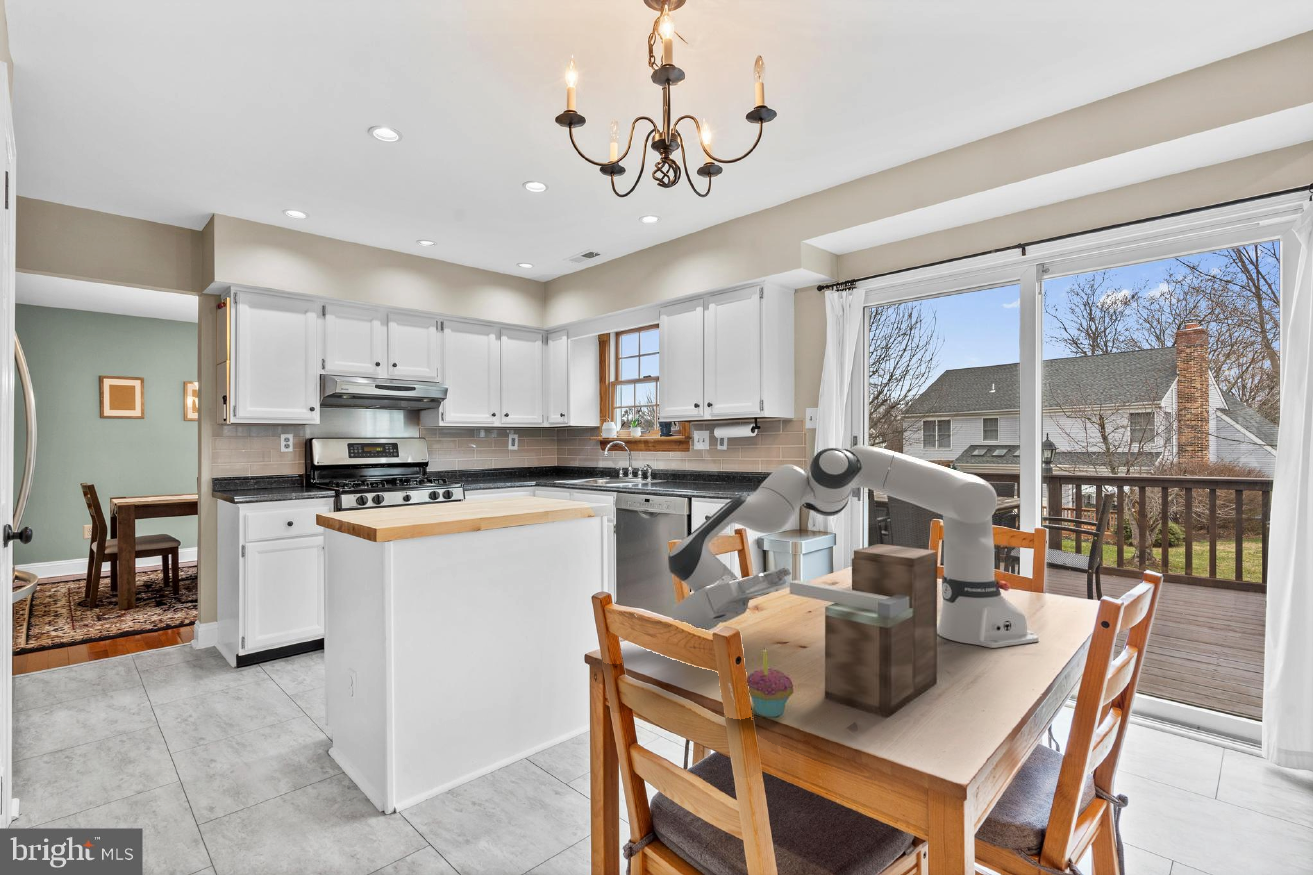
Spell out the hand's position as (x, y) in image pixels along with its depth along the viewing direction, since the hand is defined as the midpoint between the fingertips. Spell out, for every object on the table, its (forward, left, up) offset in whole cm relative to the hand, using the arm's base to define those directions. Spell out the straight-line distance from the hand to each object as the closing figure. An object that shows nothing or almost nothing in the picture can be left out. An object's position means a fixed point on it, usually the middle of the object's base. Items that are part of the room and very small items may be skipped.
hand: (775, 573), depth 136 cm
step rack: (-17, +12, -20) cm, 29 cm away
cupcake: (+7, +18, -20) cm, 28 cm away
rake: (-9, +11, -3) cm, 15 cm away
